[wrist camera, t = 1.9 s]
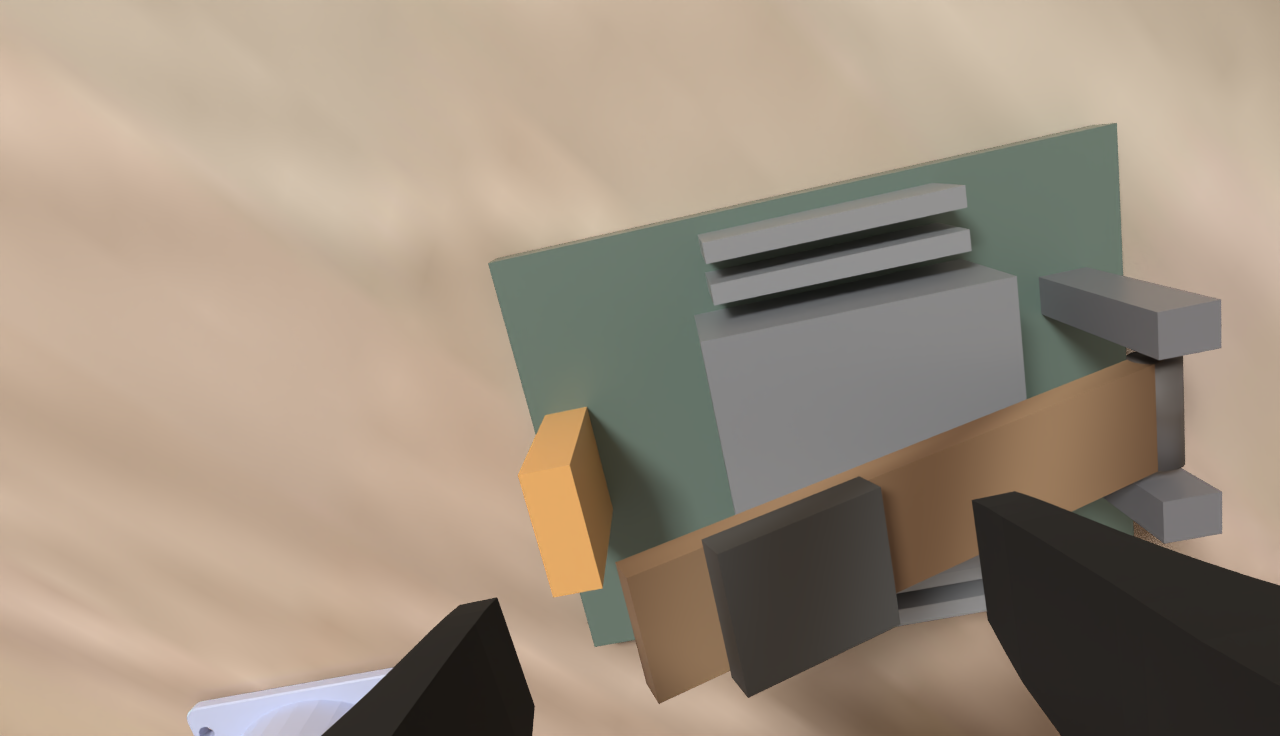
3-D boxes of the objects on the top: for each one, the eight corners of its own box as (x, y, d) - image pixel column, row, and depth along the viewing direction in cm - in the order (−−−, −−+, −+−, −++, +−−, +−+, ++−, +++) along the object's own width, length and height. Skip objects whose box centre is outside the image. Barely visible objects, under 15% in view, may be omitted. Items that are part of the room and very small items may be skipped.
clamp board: (1113, 535, 22) (1264, 658, 16) (597, 626, 23) (578, 768, 18) (1092, 125, 18) (1271, 109, 13) (496, 258, 20) (435, 293, 14)
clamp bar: (1147, 339, 16) (1214, 349, 15) (1150, 453, 17) (1216, 472, 16) (609, 549, 12) (637, 587, 11) (644, 684, 13) (673, 733, 12)
